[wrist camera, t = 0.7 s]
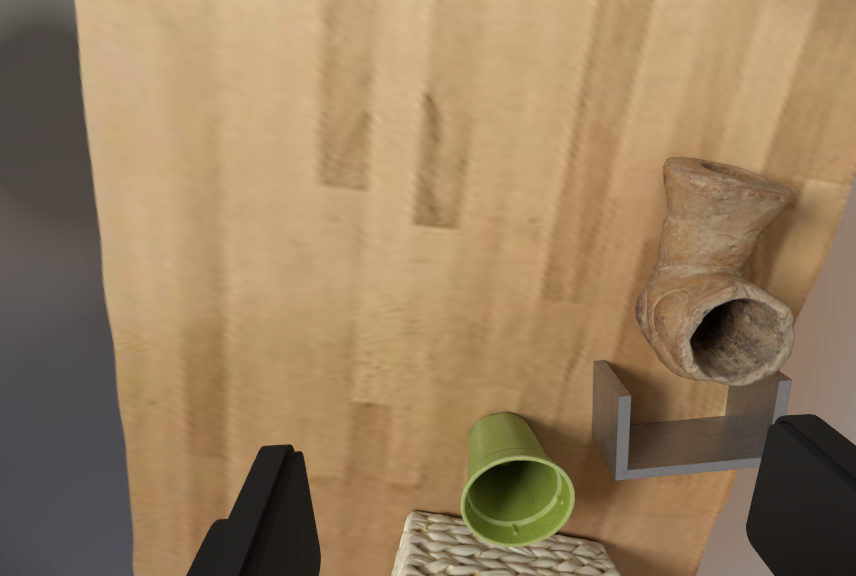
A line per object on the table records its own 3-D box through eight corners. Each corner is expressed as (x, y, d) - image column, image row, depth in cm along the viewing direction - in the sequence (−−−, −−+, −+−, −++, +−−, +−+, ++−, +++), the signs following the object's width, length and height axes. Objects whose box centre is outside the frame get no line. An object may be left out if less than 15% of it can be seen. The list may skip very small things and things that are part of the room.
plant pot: (567, 422, 48) (598, 486, 39) (512, 489, 50) (531, 563, 42) (487, 380, 46) (502, 438, 38) (435, 452, 48) (439, 521, 40)
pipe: (752, 157, 39) (857, 172, 30) (707, 339, 45) (784, 399, 36) (641, 155, 39) (712, 168, 30) (610, 338, 45) (662, 398, 35)
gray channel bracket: (593, 361, 45) (618, 396, 40) (744, 346, 45) (791, 380, 40) (592, 437, 48) (615, 480, 43) (734, 423, 48) (776, 465, 42)
